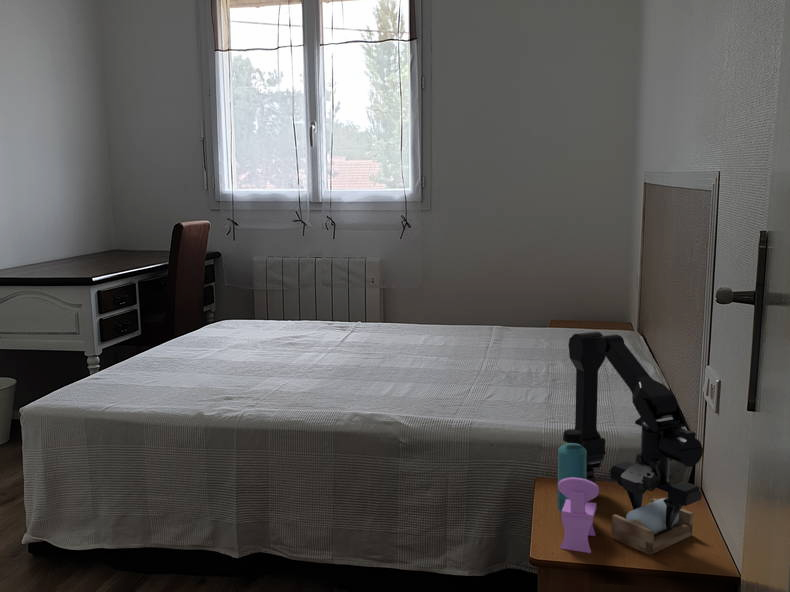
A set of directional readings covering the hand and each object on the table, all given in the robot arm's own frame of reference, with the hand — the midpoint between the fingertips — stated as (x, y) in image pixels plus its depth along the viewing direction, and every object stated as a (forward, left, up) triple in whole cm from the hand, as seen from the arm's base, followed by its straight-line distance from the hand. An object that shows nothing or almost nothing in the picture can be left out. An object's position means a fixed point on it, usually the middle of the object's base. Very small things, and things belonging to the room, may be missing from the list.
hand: (652, 520), depth 160 cm
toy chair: (-8, -14, -4) cm, 17 cm away
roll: (0, 0, -2) cm, 3 cm away
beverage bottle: (-17, -6, -4) cm, 18 cm away
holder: (0, 0, -4) cm, 4 cm away
